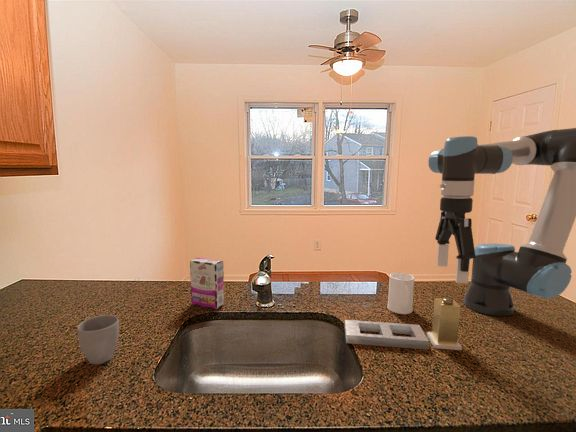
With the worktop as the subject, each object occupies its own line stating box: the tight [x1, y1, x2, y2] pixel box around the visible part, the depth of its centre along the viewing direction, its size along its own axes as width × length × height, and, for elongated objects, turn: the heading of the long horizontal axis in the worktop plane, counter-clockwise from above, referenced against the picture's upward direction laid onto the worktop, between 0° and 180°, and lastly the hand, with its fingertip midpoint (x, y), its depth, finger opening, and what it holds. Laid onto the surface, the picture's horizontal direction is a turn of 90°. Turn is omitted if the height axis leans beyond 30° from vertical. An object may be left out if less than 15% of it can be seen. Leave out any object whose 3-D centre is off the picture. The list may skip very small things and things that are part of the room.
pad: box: [426, 331, 463, 351], centre depth 87 cm, size 7×7×1 cm
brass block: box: [431, 296, 461, 345], centre depth 86 cm, size 5×5×12 cm
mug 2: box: [386, 272, 415, 315], centre depth 106 cm, size 12×8×12 cm
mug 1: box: [77, 314, 120, 365], centre depth 79 cm, size 12×9×10 cm
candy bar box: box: [189, 257, 225, 310], centre depth 109 cm, size 11×5×16 cm, turn 68°
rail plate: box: [344, 319, 430, 350], centre depth 89 cm, size 22×9×2 cm, turn 83°
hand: (451, 273), depth 84 cm, fingers open, 13 cm apart
